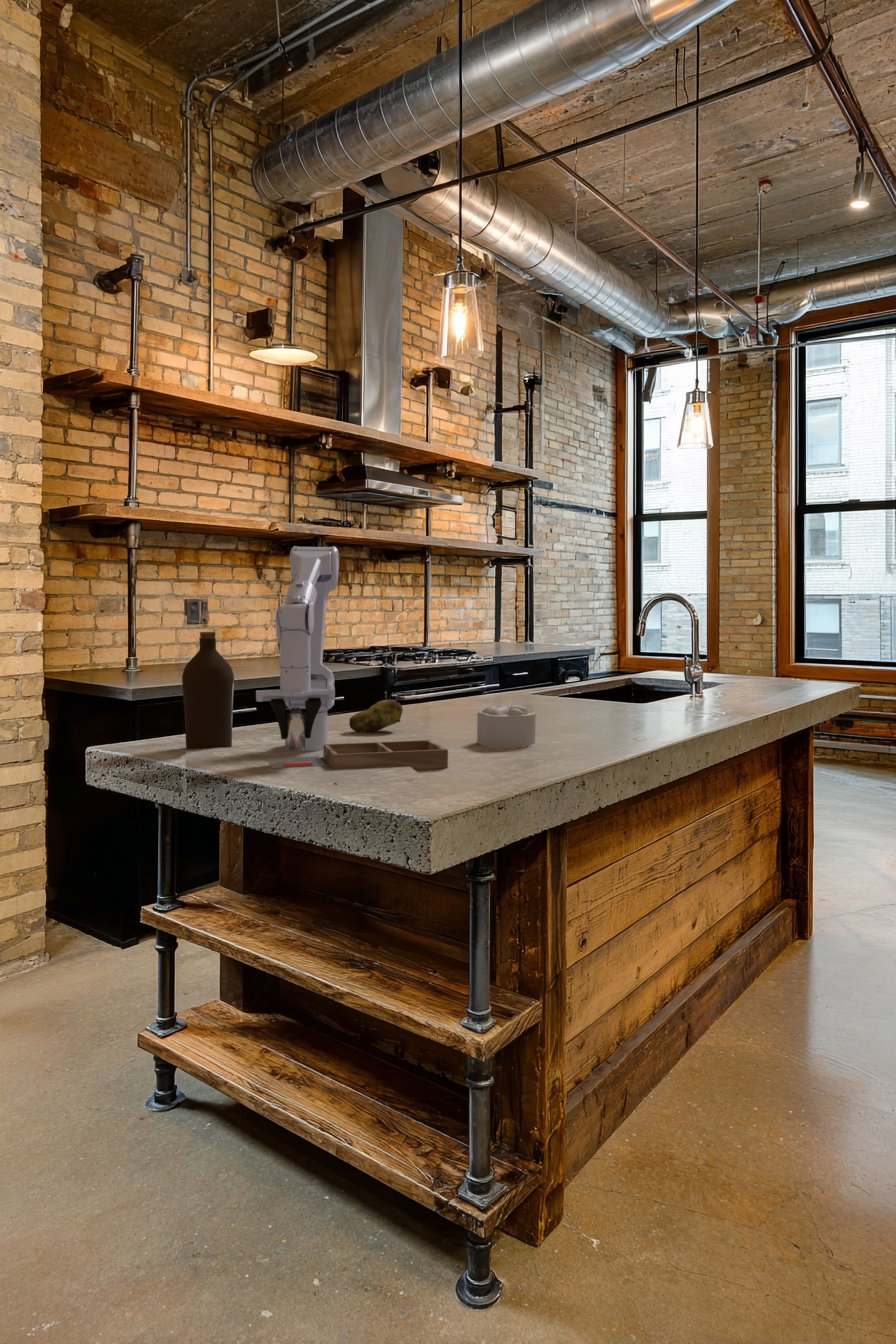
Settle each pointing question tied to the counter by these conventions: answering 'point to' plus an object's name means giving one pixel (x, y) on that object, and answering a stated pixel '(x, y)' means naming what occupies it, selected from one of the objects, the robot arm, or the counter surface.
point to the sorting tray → (387, 754)
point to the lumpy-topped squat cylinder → (506, 727)
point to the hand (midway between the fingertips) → (295, 738)
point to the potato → (377, 716)
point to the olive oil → (208, 697)
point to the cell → (295, 728)
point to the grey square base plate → (295, 762)
